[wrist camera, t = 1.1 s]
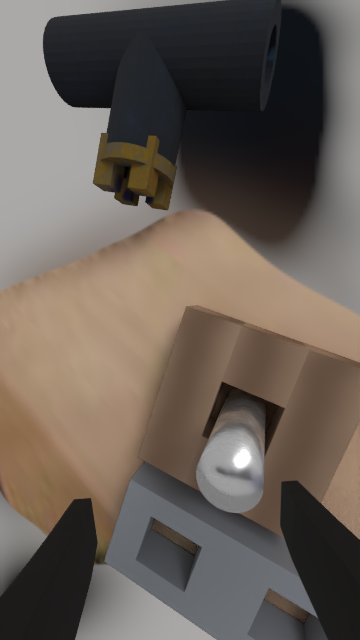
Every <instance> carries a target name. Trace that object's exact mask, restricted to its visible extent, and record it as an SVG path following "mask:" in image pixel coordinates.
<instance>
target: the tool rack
mask: <svg viewBox="0 0 360 640" xmlns="http://www.w3.org/2000/svg"><path fill="white" fill-rule="evenodd" d="M155 519H156V520H158V521H160V522H161V523H163V524H164V525H166V526H168V527H169V528H171V529H173V530H174V531H176V532H178V533H179V534H181V535H183V536H184V537H186V538H187V539H189V540H191V541H192V542H194V543H196V544H197V545H199V547H198V549H197V552H196V555H195V556H194V555H192V554H191V553H189V552H187V551H186V550H184V549H183V548H181V547H179V546H178V545H176V544H175V543H173V542H171V541H170V540H168V539H167V538H165V537H163V536H162V535H160V534H158V533H157V532H155V531H154V530H152V526H153V523H154V520H155ZM104 562H106V563H107V564H109V565H110V566H112V567H113V568H115V569H116V570H117V571H119V572H120V573H122V574H123V575H125V576H126V577H128V578H129V579H130V580H132V581H133V582H135V583H136V584H138V585H139V586H141V587H142V588H144V589H145V590H146V591H148V592H149V593H151V594H152V595H153V596H155V597H156V598H158V599H159V600H161V601H162V602H163V603H165V604H166V605H168V606H169V607H171V608H172V609H173V610H175V611H176V612H178V613H179V614H181V615H182V616H184V617H185V618H186V619H188V620H189V621H191V622H192V623H194V624H195V625H196V626H198V627H199V628H201V629H202V630H204V631H205V632H207V633H208V634H209V635H211V636H212V637H214V638H215V639H217V640H328V639H327V637H326V634H325V632H324V630H323V628H322V626H321V623H320V621H319V619H318V617H317V615H316V612H315V610H314V608H313V606H312V604H311V601H310V599H309V597H308V595H307V593H306V590H305V588H304V586H303V584H302V581H301V579H300V577H299V575H298V572H297V570H296V568H295V566H294V563H293V561H292V559H291V556H290V553H289V550H288V548H287V545H286V542H285V539H284V538H283V537H282V536H280V535H278V534H276V533H274V532H273V531H271V530H269V529H267V528H265V527H263V526H262V525H260V524H258V523H256V522H254V521H253V520H251V519H249V518H247V517H245V516H244V515H242V514H240V513H230V512H226V511H223V510H221V509H219V508H217V507H215V506H214V505H212V504H211V503H210V502H209V501H208V500H207V499H206V498H205V497H204V495H203V494H202V492H200V491H198V490H196V489H194V488H193V487H191V486H189V485H187V484H185V483H184V482H182V481H180V480H178V479H176V478H174V477H173V476H171V475H169V474H167V473H165V472H164V471H162V470H160V469H158V468H156V467H155V466H153V465H151V464H149V463H147V462H145V461H144V462H143V464H142V465H141V466H140V468H139V469H138V470H137V472H136V473H135V474H134V476H133V477H132V478H131V480H130V483H129V486H128V489H127V492H126V495H125V498H124V501H123V504H122V507H121V511H120V514H119V517H118V520H117V523H116V526H115V529H114V532H113V535H112V539H111V542H110V545H109V548H108V551H107V554H106V557H105V560H104ZM269 588H270V589H271V590H273V591H275V592H276V593H278V594H279V595H281V596H283V597H284V598H286V599H288V600H289V601H291V602H293V603H294V604H296V605H298V606H299V607H301V608H302V609H304V610H306V611H307V612H309V615H308V617H307V619H306V621H305V623H304V624H303V623H301V622H300V621H298V620H297V619H295V618H293V617H292V616H290V615H289V614H287V613H285V612H284V611H282V610H281V609H279V608H277V607H276V606H274V605H272V604H271V603H269V602H268V601H266V600H264V597H265V595H266V593H267V591H268V589H269Z"/></svg>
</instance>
